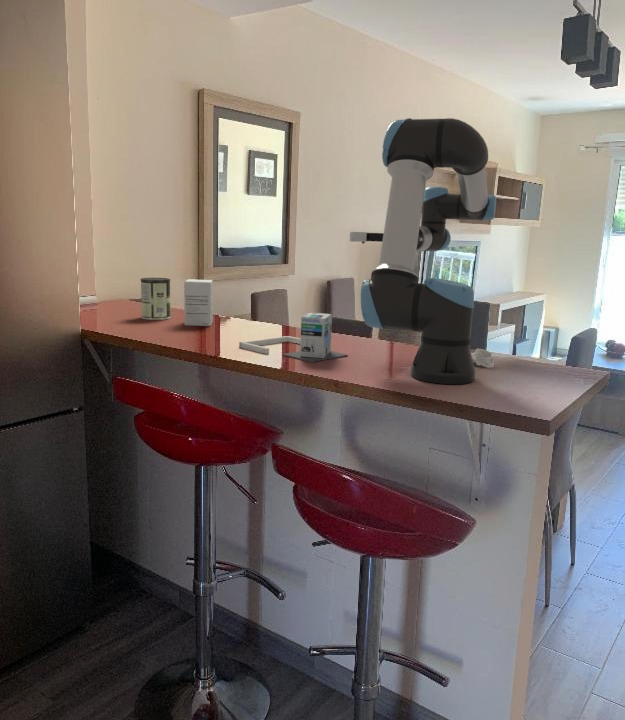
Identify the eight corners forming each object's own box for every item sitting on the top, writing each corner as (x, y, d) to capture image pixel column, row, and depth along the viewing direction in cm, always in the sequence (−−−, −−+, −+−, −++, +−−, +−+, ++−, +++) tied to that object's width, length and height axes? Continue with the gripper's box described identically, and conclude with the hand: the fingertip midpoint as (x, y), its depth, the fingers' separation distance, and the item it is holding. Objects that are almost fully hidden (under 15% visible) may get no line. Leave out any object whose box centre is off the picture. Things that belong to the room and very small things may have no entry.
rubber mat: (347, 356, 175) (347, 354, 175) (311, 362, 166) (311, 361, 165) (318, 349, 183) (318, 348, 183) (282, 355, 173) (282, 354, 173)
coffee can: (156, 315, 237) (155, 276, 234) (176, 318, 232) (176, 279, 229) (134, 317, 228) (134, 278, 225) (155, 321, 223) (155, 280, 220)
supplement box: (187, 321, 225) (187, 278, 222) (213, 322, 225) (213, 279, 222) (183, 325, 216) (183, 281, 213) (210, 326, 216) (210, 282, 213)
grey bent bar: (314, 346, 187) (314, 341, 187) (266, 354, 174) (266, 348, 174) (287, 340, 195) (287, 335, 195) (239, 347, 182) (239, 342, 181)
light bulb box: (323, 359, 168) (325, 318, 166) (299, 357, 170) (300, 316, 168) (331, 351, 179) (332, 313, 176) (307, 349, 180) (309, 311, 178)
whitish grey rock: (478, 365, 176) (478, 347, 176) (500, 367, 171) (501, 348, 171) (462, 366, 170) (463, 348, 170) (485, 368, 166) (486, 350, 165)
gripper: (448, 253, 186) (404, 253, 171) (380, 248, 203) (335, 248, 188) (450, 227, 184) (406, 225, 170) (382, 224, 201) (336, 222, 186)
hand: (369, 237), depth 179 cm, fingers open, 13 cm apart
